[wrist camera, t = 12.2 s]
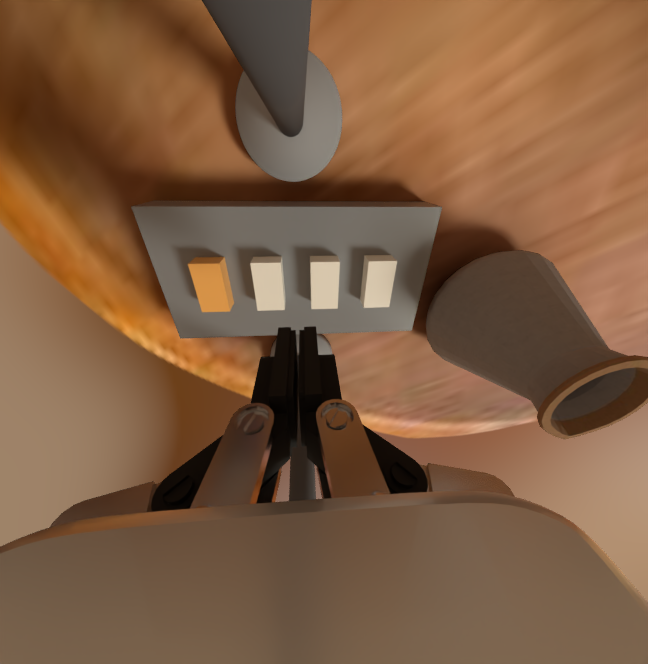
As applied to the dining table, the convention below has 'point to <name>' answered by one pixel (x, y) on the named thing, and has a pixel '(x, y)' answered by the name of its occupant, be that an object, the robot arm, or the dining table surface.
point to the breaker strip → (289, 264)
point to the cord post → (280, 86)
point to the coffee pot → (534, 343)
